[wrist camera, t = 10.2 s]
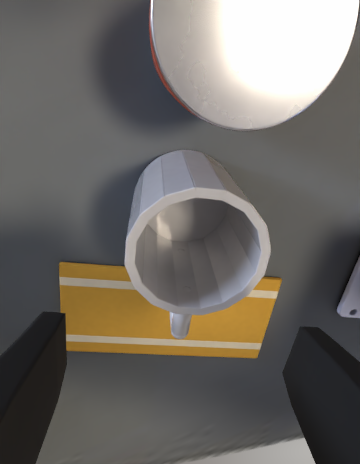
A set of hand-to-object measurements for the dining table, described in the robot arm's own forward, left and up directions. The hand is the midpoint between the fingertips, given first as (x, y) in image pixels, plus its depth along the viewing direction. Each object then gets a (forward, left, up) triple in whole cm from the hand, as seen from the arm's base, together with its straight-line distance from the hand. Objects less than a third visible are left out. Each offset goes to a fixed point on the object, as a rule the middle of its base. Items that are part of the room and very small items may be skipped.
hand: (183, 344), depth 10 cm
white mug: (-1, 0, -10) cm, 10 cm away
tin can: (-1, -9, -10) cm, 13 cm away
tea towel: (-1, +7, -10) cm, 12 cm away
